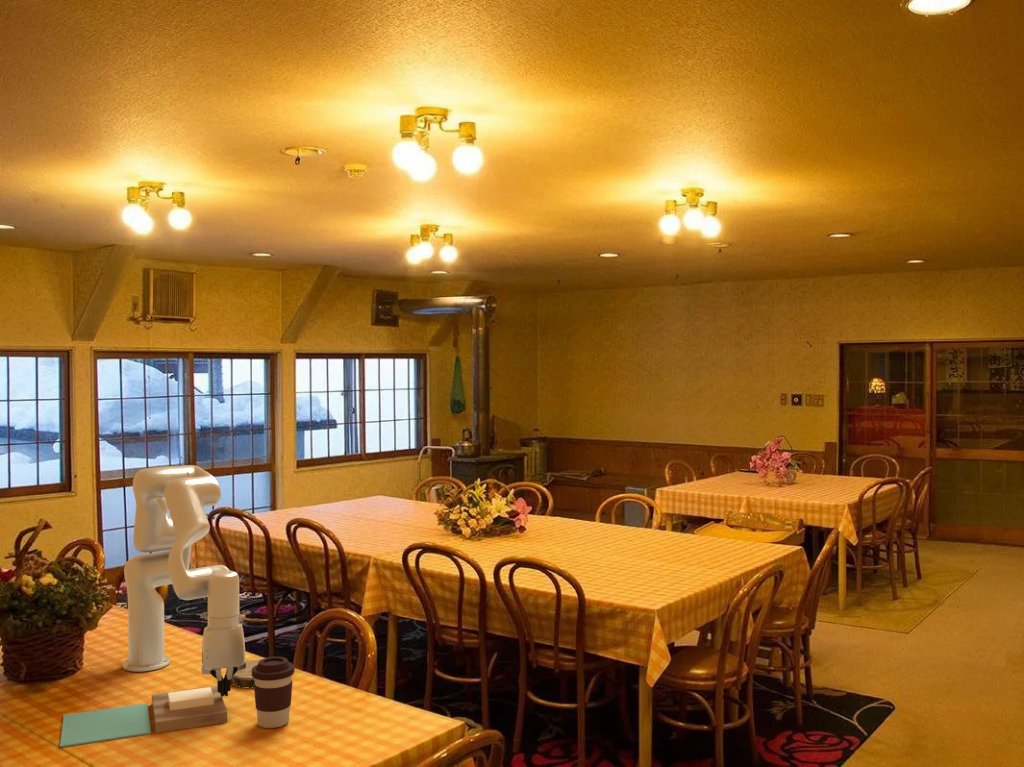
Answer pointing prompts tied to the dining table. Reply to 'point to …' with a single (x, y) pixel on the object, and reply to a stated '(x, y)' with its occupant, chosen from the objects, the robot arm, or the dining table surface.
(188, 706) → the cream foam board
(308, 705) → the dining table surface
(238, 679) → the wood slice coaster
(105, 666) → the dining table surface
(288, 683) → the coffee cup
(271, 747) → the dining table surface
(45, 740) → the dining table surface
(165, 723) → the panel
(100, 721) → the mat
